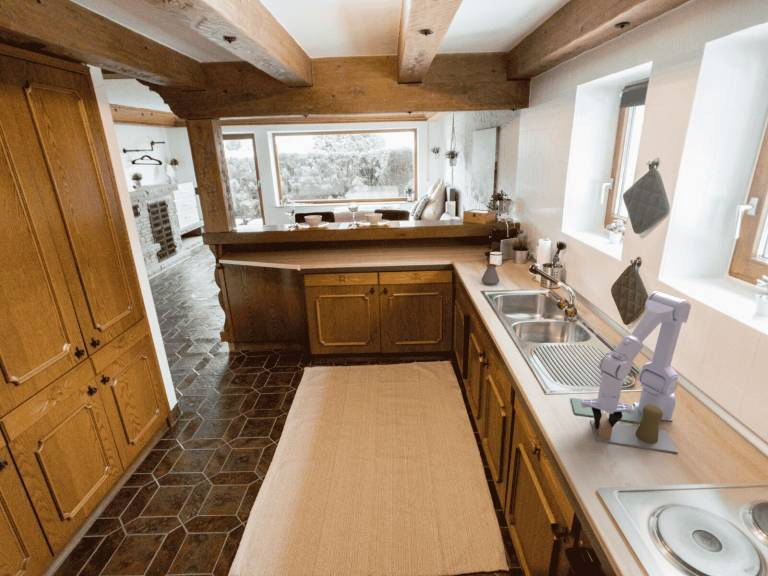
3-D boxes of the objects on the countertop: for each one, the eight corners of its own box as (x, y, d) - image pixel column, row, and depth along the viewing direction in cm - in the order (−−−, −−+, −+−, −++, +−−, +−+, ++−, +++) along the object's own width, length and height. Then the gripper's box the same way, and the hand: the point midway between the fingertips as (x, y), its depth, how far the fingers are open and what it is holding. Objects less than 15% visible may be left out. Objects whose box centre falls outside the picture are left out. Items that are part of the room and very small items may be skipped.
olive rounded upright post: (649, 430, 129) (656, 401, 126) (662, 443, 124) (670, 413, 120) (631, 430, 129) (637, 401, 125) (643, 444, 124) (650, 414, 120)
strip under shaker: (664, 431, 129) (668, 419, 128) (677, 453, 120) (680, 441, 119) (590, 421, 135) (592, 409, 133) (596, 441, 126) (598, 429, 124)
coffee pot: (500, 286, 260) (502, 264, 255) (482, 286, 260) (484, 264, 255) (493, 276, 280) (495, 255, 275) (477, 276, 280) (478, 255, 275)
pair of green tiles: (638, 407, 141) (639, 406, 141) (647, 424, 133) (647, 422, 133) (570, 399, 146) (570, 397, 146) (574, 414, 138) (575, 413, 138)
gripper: (586, 396, 123) (580, 432, 127) (640, 403, 119) (631, 440, 124) (582, 383, 129) (576, 418, 134) (633, 389, 126) (625, 425, 130)
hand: (602, 428), depth 129 cm, fingers closed on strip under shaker, 3 cm apart
